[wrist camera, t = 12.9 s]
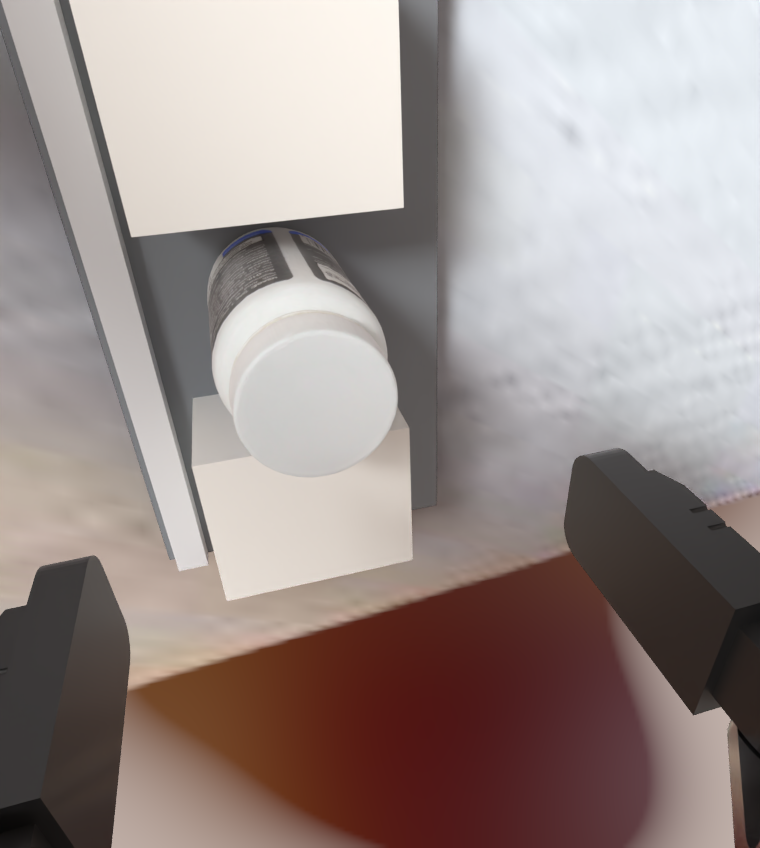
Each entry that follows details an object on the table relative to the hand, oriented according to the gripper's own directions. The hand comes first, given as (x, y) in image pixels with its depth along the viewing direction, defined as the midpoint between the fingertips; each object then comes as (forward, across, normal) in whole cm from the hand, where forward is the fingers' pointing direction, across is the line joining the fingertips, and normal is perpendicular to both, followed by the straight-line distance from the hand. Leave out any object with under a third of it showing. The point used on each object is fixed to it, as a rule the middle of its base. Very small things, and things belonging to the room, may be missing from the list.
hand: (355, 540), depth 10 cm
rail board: (+15, 0, 0) cm, 15 cm away
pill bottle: (+13, 0, 0) cm, 13 cm away
